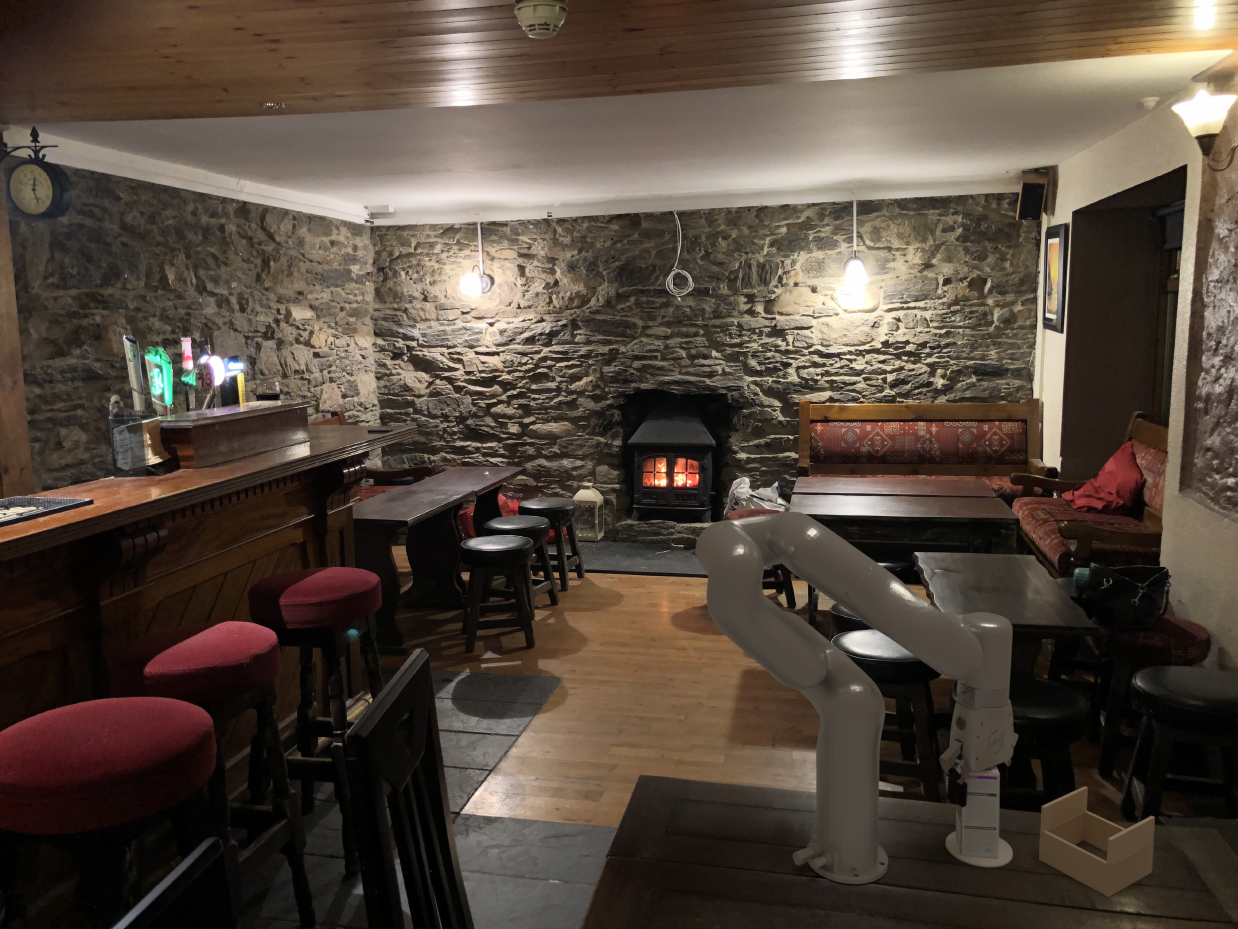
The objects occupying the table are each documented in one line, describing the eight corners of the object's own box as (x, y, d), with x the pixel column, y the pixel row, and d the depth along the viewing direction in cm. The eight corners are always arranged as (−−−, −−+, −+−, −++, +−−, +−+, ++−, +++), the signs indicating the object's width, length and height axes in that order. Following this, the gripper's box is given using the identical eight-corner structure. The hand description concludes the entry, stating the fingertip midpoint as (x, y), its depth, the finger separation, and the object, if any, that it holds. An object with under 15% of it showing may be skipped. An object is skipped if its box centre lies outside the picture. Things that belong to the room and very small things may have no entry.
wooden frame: (1108, 897, 130) (1111, 840, 128) (1038, 859, 139) (1041, 806, 138) (1151, 872, 135) (1155, 817, 134) (1082, 837, 145) (1084, 786, 143)
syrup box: (999, 859, 139) (1002, 772, 137) (959, 856, 140) (962, 770, 138) (991, 839, 144) (994, 755, 142) (953, 836, 145) (955, 753, 143)
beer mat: (984, 875, 136) (985, 872, 136) (932, 844, 144) (932, 841, 144) (1026, 854, 141) (1026, 852, 141) (973, 825, 149) (973, 823, 149)
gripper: (965, 713, 131) (960, 821, 133) (1039, 689, 140) (1032, 791, 142) (925, 696, 137) (920, 799, 140) (997, 674, 146) (992, 771, 148)
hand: (977, 795), depth 141 cm, fingers open, 9 cm apart
